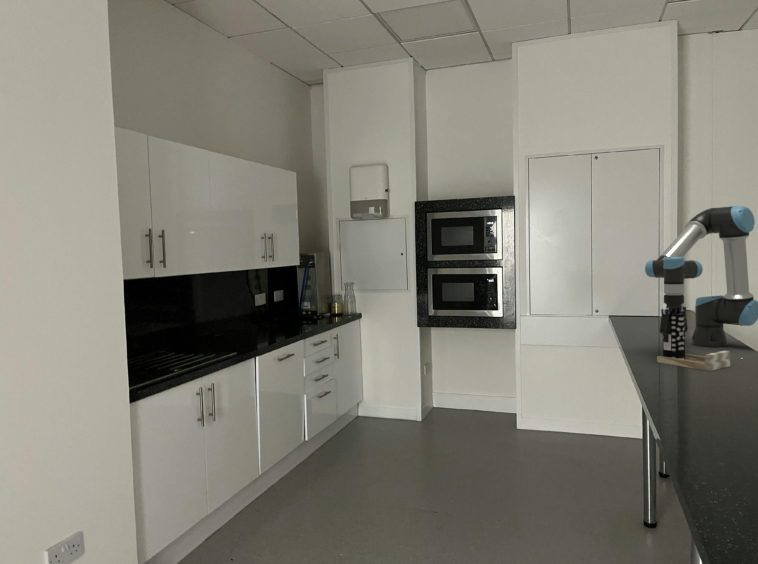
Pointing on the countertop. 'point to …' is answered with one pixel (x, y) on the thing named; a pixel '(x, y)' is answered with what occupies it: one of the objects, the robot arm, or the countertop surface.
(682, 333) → the white-spotted black cylinder
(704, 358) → the guide channel
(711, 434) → the countertop surface
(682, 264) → the robot arm
